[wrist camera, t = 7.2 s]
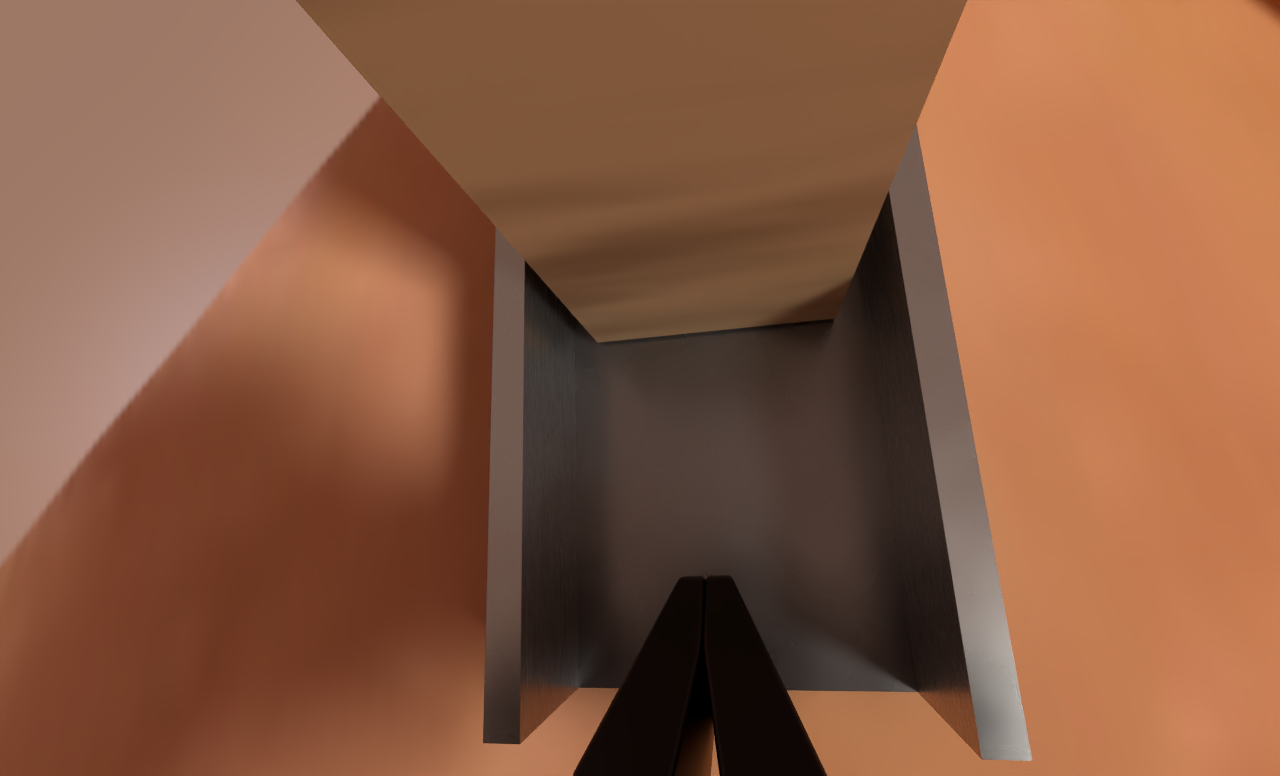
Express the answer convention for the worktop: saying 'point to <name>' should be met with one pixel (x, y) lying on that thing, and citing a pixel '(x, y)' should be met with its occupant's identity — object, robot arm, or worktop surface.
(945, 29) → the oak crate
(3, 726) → the worktop surface
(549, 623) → the metal bay
